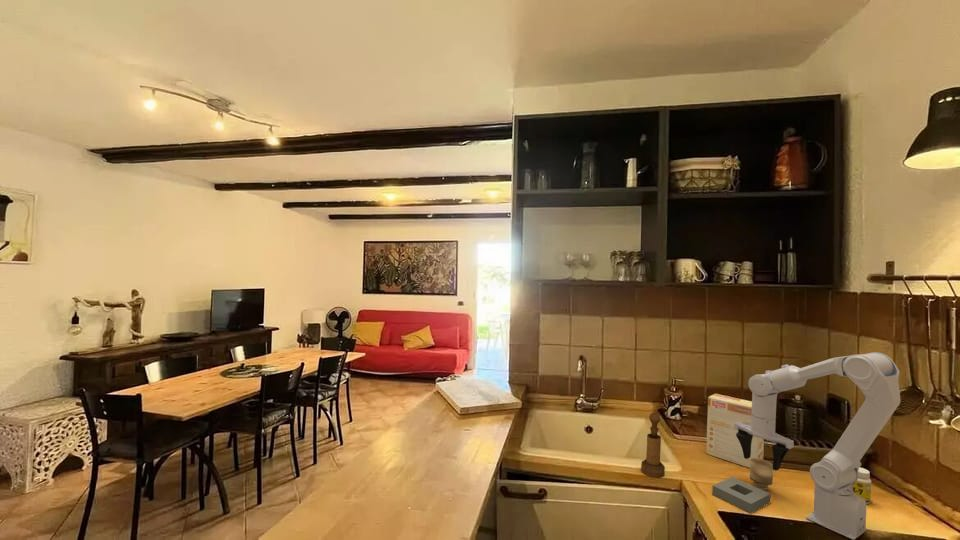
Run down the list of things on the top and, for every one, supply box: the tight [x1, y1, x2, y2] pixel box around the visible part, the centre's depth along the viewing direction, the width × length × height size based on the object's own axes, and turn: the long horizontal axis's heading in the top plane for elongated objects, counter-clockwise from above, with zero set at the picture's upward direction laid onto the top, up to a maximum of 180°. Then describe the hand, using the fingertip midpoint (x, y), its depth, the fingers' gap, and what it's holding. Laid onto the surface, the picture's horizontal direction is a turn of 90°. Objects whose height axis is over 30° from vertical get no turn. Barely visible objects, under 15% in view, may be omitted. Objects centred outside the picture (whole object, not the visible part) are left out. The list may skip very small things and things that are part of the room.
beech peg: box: [749, 458, 774, 492], centre depth 119 cm, size 5×5×8 cm
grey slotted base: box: [711, 476, 772, 514], centre depth 114 cm, size 10×10×2 cm
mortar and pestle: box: [640, 412, 666, 478], centre depth 127 cm, size 7×6×18 cm
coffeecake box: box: [705, 393, 765, 469], centre depth 137 cm, size 15×7×20 cm, turn 42°
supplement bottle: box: [852, 466, 872, 505], centre depth 115 cm, size 5×5×8 cm
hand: (761, 463), depth 119 cm, fingers open, 7 cm apart
